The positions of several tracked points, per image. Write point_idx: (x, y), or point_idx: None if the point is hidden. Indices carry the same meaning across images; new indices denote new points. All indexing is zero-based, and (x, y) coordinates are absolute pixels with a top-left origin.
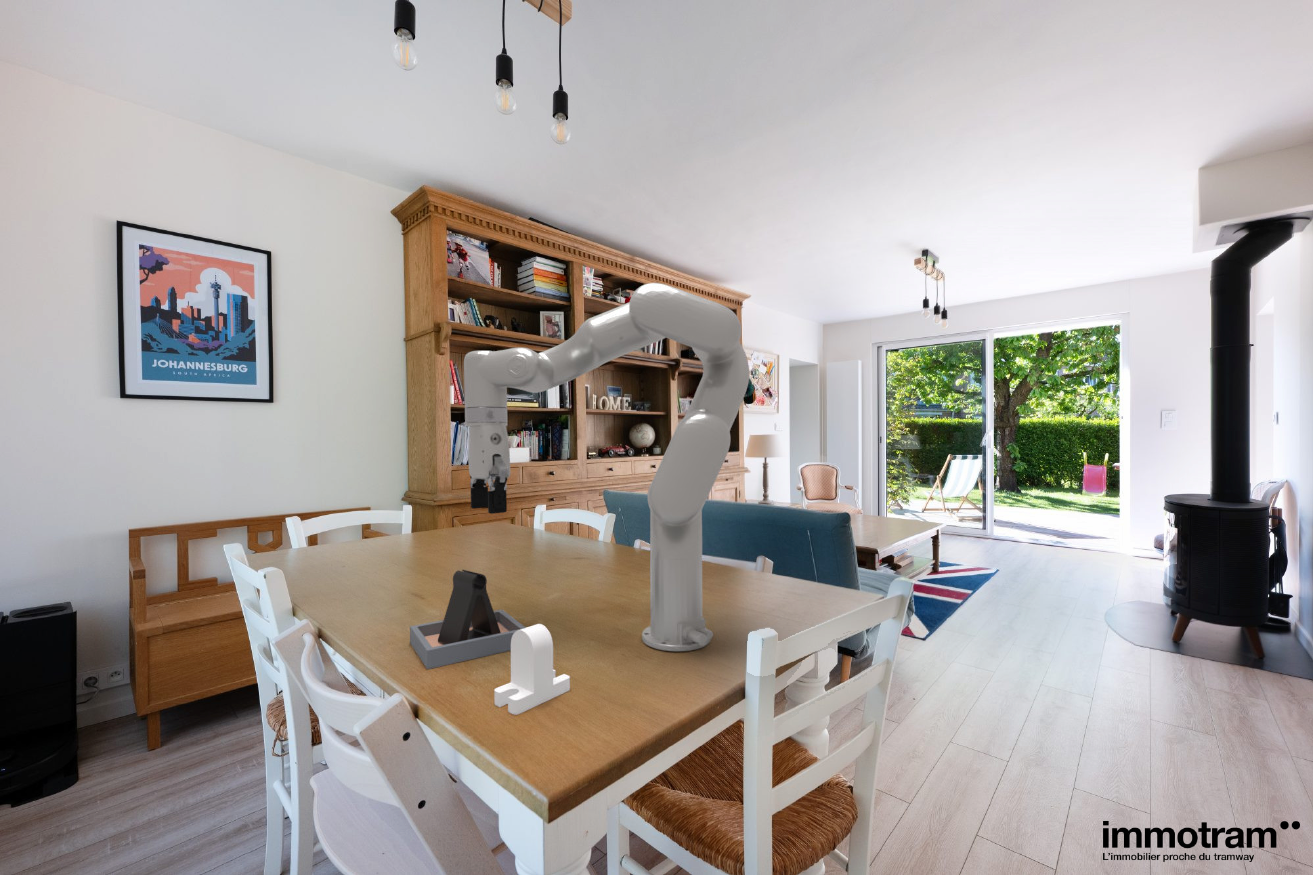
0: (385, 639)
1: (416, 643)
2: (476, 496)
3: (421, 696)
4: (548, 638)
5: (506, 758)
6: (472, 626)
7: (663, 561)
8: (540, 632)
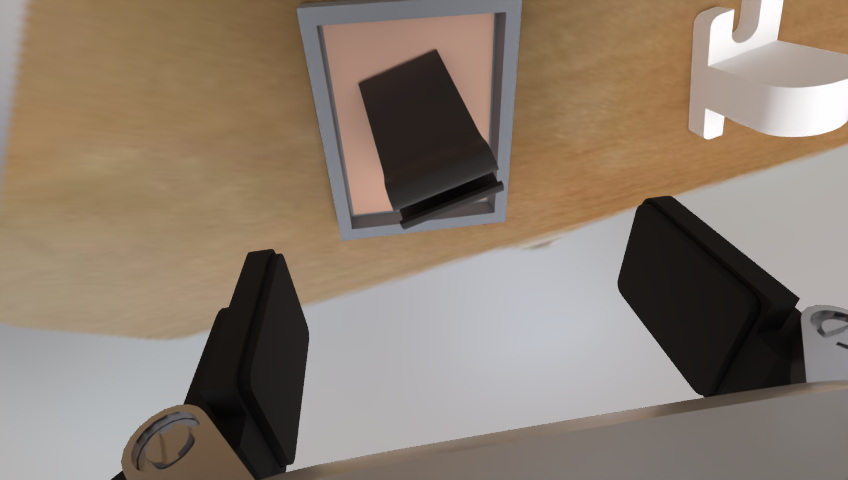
0: (298, 258)
1: None
2: (294, 383)
3: (587, 217)
4: None
5: (815, 148)
6: (332, 100)
7: None
8: None
